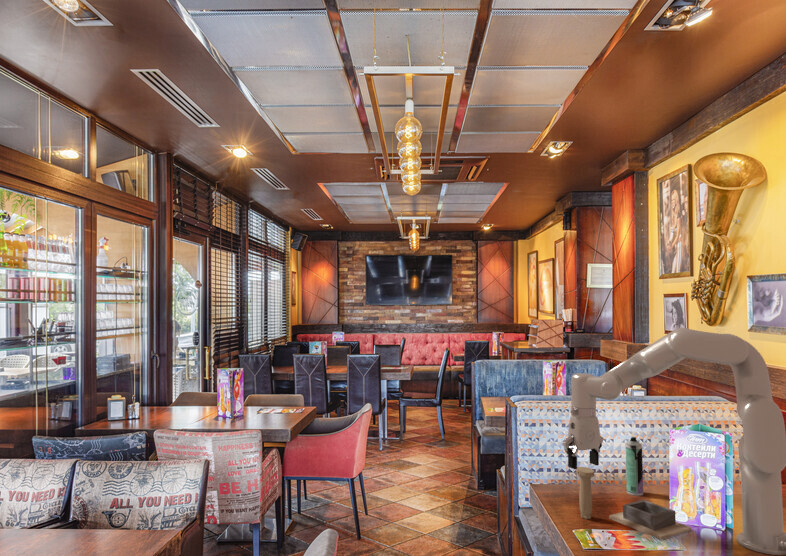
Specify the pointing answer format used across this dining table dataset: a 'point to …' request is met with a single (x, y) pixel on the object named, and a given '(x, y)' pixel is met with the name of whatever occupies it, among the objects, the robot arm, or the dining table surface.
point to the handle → (585, 491)
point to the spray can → (634, 467)
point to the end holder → (650, 519)
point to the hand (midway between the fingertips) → (583, 466)
